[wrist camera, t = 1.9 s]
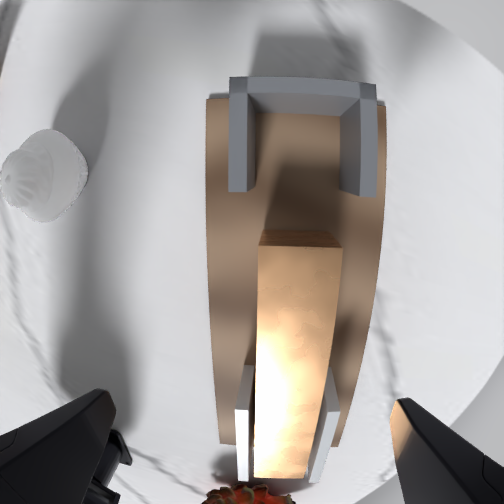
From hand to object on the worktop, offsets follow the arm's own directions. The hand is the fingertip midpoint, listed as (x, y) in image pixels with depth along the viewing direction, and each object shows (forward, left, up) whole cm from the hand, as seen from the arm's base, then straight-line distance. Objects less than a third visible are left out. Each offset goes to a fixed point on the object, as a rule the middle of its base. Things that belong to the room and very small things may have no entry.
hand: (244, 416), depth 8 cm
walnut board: (-3, -2, -12) cm, 13 cm away
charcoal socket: (+8, -2, -12) cm, 15 cm away
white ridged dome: (+7, +14, -12) cm, 20 cm away
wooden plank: (-6, -2, -12) cm, 14 cm away
